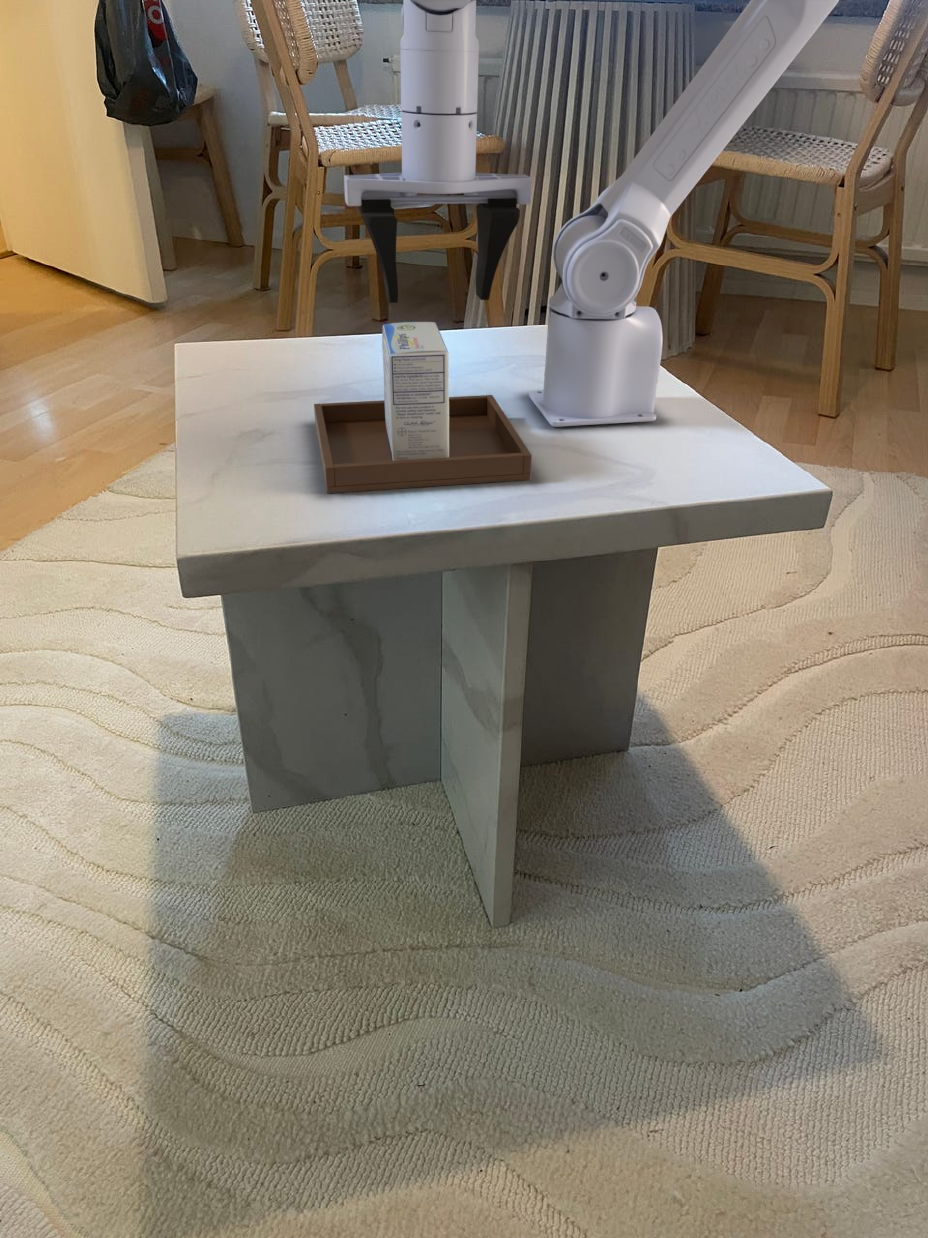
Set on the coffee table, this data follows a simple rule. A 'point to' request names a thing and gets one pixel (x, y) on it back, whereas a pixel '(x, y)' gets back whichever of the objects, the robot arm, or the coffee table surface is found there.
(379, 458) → the tray
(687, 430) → the coffee table surface
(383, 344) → the medicine box
